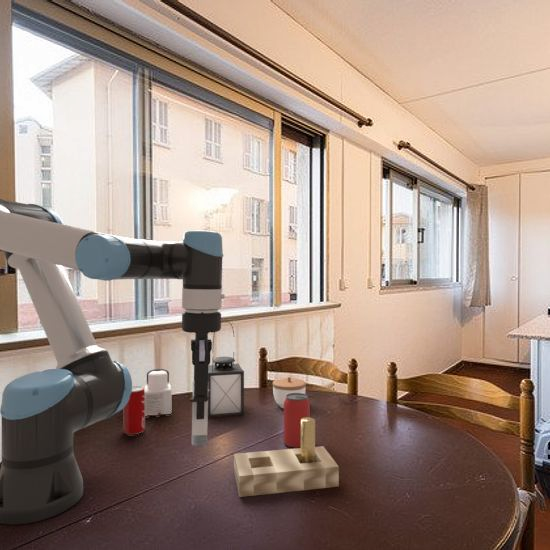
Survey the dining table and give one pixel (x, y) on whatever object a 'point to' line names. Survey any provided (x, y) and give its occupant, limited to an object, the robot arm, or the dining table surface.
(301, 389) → the lidded jar
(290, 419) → the beer can
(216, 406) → the lantern
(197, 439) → the steel pin
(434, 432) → the dining table surface
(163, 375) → the container
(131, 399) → the soda can
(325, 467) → the pin block
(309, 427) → the brass pin
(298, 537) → the dining table surface
